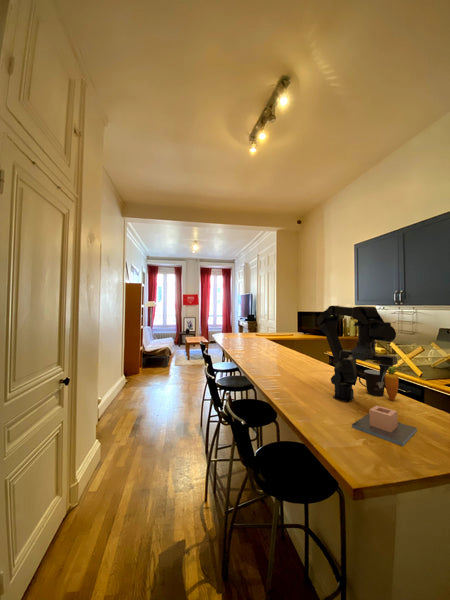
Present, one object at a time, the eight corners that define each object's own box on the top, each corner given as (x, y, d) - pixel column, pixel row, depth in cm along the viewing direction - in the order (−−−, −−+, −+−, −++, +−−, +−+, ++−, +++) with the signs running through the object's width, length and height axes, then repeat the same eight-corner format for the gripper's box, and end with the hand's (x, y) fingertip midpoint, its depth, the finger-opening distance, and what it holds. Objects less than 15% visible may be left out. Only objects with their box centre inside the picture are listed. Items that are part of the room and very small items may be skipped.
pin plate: (351, 427, 80) (351, 410, 80) (369, 416, 89) (368, 400, 89) (402, 446, 69) (402, 426, 69) (416, 431, 78) (416, 413, 78)
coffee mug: (383, 392, 115) (383, 370, 115) (389, 398, 107) (388, 375, 107) (355, 389, 118) (355, 368, 119) (359, 395, 110) (359, 373, 111)
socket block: (369, 425, 79) (369, 409, 80) (376, 420, 83) (376, 405, 83) (390, 432, 75) (390, 416, 75) (397, 426, 78) (397, 411, 79)
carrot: (382, 398, 106) (381, 364, 107) (392, 398, 106) (392, 364, 107) (390, 403, 101) (390, 366, 102) (402, 403, 101) (401, 366, 102)
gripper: (332, 337, 96) (333, 377, 95) (386, 343, 81) (387, 390, 81) (345, 336, 103) (346, 373, 102) (397, 340, 88) (398, 384, 88)
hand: (367, 379), depth 93 cm, fingers open, 9 cm apart
